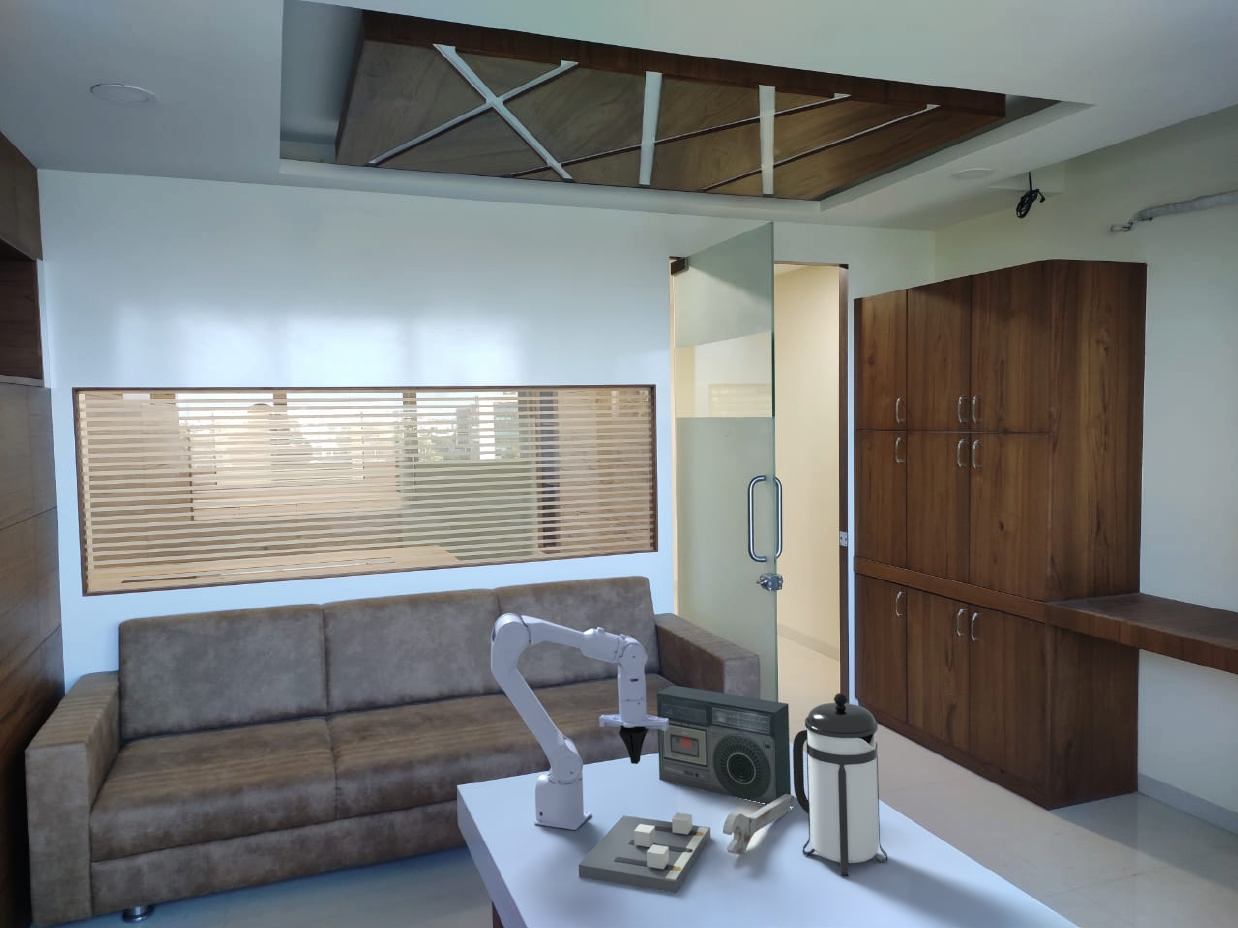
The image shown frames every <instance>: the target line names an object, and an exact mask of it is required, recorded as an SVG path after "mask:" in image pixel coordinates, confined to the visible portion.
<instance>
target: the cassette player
mask: <svg viewBox="0 0 1238 928" xmlns="http://www.w3.org/2000/svg"><path fill="white" fill-rule="evenodd" d="M656 708H657V709H656V710H657V711H656V712H657V716H656V717H659V718H667V719H668V720H669V728H668V729H667V731H662V729H657V743H658V744H657V745H658V774H659V775H658V776H659V777H658V778H659V780H660V781H664V782H668V783H672V784H676V785H681V786H685V787H689V788H693V789H696V790H701V791H705V792H710V793H714V794H718V795H722V796H726V797H730V796H731V797H732V798H735V797H737V798H736V799H739V798H741V799H740V800H743V799H747V800H751V801H756V802H760V803H765V804H769V803H771V802H773V801H774V800H776V799H778V798H779V797H781V796H783V795H784V794H789V795H792V789H791V788H792V786H791V784H792V783H791V781H792V780H791V779H792V778H791V752H790V751H791V749H790V748H791V746H790V712H789V710H790V709H789V703H785V702H780V701H773V700H766V699H760V698H754V697H750V696H749V697H748V696H741V695H734V694H729V693H724V692H717V691H711V690H705V689H704V690H703V689H697V688H691V687H685V686H678V685H671V686H668V687H666V688H664V689H662V690H660V691H658V692H656ZM731 797H730V798H731ZM747 800H746V801H747ZM751 801H750V802H751ZM756 802H755V803H756ZM760 803H759V804H760Z"/></svg>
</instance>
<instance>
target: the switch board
mask: <svg viewBox="0 0 1238 928" xmlns="http://www.w3.org/2000/svg"><path fill="white" fill-rule="evenodd" d="M639 824H644V825H651V826H655V841H654V842H653V844H654V845H661V846H667V847H669V862H668V864H667V865H666V867H665V868H664V869H659V868H653V867H647V851H648V850H649V848H650V847H651V846H652V845H653V844H652V845H651V846H650V847H646V846H640V845H635V844H634V830H635V829H636V828H637V827H638V825H639ZM710 839H711V828H710V827H709V826H700V825H694V824H692V829H691V831H690V832H689V833H688V835H687V834H681V833H674V832H673V828H672V821H667V820H659V819H652V818H646V817H645V818H644V817H637V816H630V815H622V816H621V818H619V820H617V822H616V823H615V824H614V825H613V826H612V827H611V829H609V831H608V832H607V833H606V834H605V835H604V836H603V837H602V838H601V840H600V841H599V842H598V843H596V845H595V846H594V847H593V848H592V850H590V851H589V853H588V854H587V855H586V856H585V857H584V859H582V860H581V862H579V864H578V877H583V878H588V879H593V880H594V879H595V880H599V881H606V882H610V883H616V884H623V885H629V886H634V887H638V888H639V887H640V888H644V889H645V888H646V889H650V888H651V890H656V889H657V890H656V891H662V890H664V891H663V892H668V891H669V892H668V893H673V892H674V893H675V894H676V892H677V891H678V890H679V889H680V887H681V885H682V884H683V882H684V880H685V879H686V878H687V875H688V874H689V873H690V871H691V869H692V868H693V866H694V865H695V863H696V862H697V860H698V858H699V857H700V855H701V853H702V852H703V850H704V849H705V848H706V845H707V844H708V843H709V841H710ZM679 886H680V887H679Z"/></svg>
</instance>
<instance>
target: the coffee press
mask: <svg viewBox="0 0 1238 928" xmlns="http://www.w3.org/2000/svg"><path fill="white" fill-rule="evenodd" d="M833 701H834V702H828V703H823V704H819V705H816V706H815V707H813V708H812V709H811V710H810V711H809V712H808V715H807V717H806V718H805V719H804V727H805V728H806V729H803V730H801V731H798V732H797V734H795V736H794V739H793V748H792V756H793V757H792V759H793V761H792V762H793V787H794V793H795V796H796V798H795V799H796V800H797V803H798V804H799V806H800V807H801V808H802V810H803V811H804V812H805V813H806V814H807V815H808V839H807V841H806V842H805V844H804V845H803V846H802V854H803V855H804V856H805V855H807V856H806V857H810V856H811V855H812V854H814V853H815V852H816V853H817V854H818V855H820V856H821V857H823V858H825V859H827V860H829V861H832V862H836V863H840V876H841V877H850V876H849V875H850V873H849V872H850V869H849V866H850V865H849V864H857V863H863V862H866V861H869V860H871V859H872V858H876V859H877V860H878V861H879V862H880V863H883V864H885V863H887V862H888V854H887V852H886V850H885V849H884V848H883V846H882V845H881V832H880V831H881V829H880V828H881V826H880V793H879V792H880V789H879V785H880V784H879V758H878V757H879V755H878V754H879V753H878V752H879V751H878V749H879V748H878V741H877V735H876V734H877V731H878V730H879V723H878V722H877V720H876V719H875V717H874V715H873V713H872V712H870V711H869V710H868V709H867V708H865V707H862V706H860V705H858V704H853V703H847V701H848V699H847V696H846V695H845V694H844V693H842V692H838V693H836V694H835V695H834V698H833ZM805 744H806V774H807V775H806V777H807V796H806V792H805V781H804V780H805V779H804V778H805V777H804V773H805V772H804V745H805ZM809 843H810V844H811V846H812V849H811V850H810V851H805V849H806V848H807V846H808V845H809ZM879 848H880V851H881V852H882V854H884V856H885V857H884V858H882V857H880V856H879V855H878V854H877V853H878V851H879Z"/></svg>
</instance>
